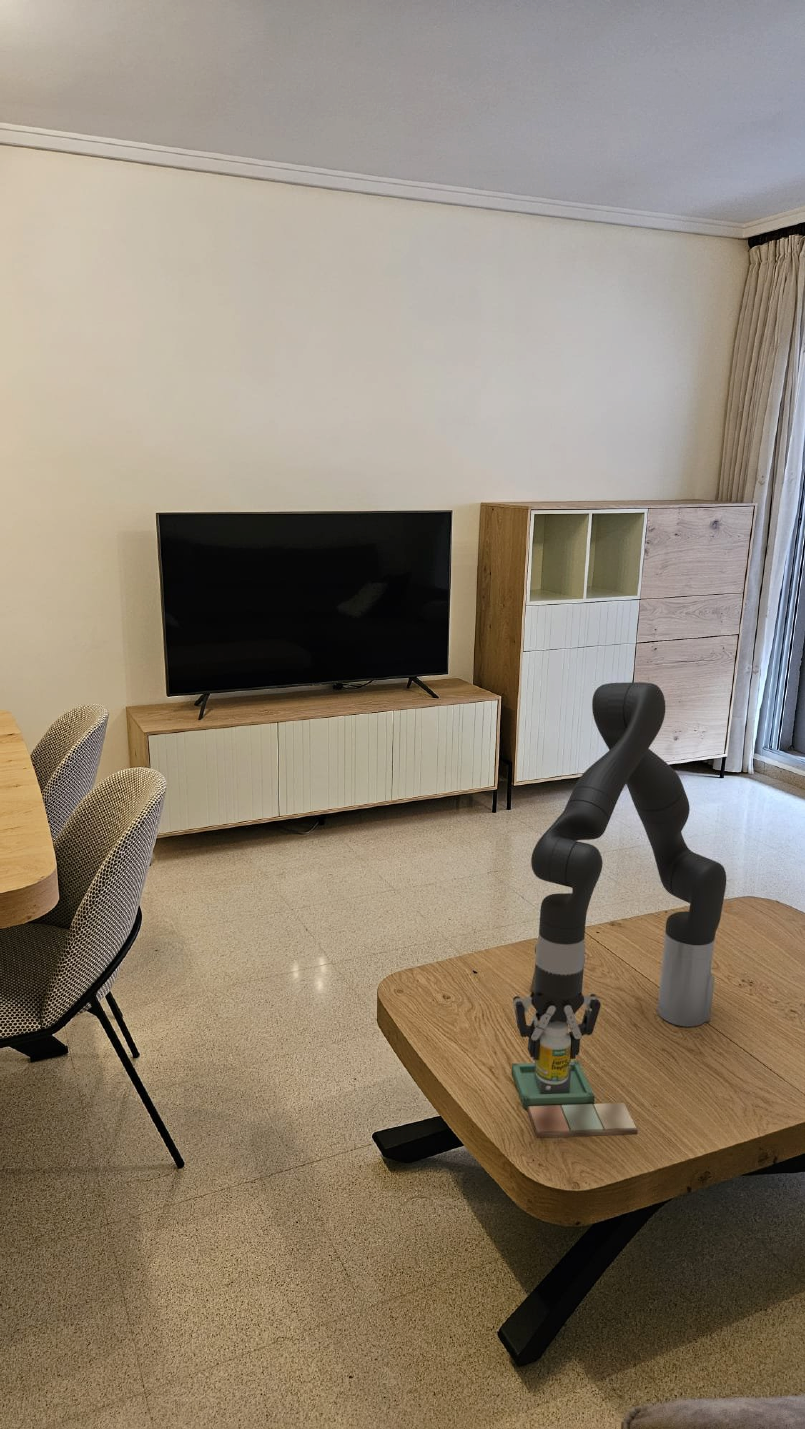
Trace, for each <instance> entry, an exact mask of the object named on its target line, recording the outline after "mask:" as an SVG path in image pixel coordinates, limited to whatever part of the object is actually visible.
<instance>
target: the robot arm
mask: <svg viewBox="0 0 805 1429" xmlns="http://www.w3.org/2000/svg"><path fill="white" fill-rule="evenodd" d="M591 703H592V704H591V709H592V716H593V719H594V723H595V726H596V727H597V730H598V732H599V734H600V736H601V738H602V739H603V740H602V741H604V743H605V745H606V747H607V749H608V751H607V752H606V753H605V754H603V755H602V756H601V757H600V758H599V759H597V760H596V761H594V763H593V764H592V765H590V766H589V767H588V768H587V769H586V770H584V772H583V773H582V775H580V777H579V778H578V780H577V782H576V783H575V785H574V787H573V789H572V792H571V794H570V796H569V798H568V800H567V803H566V804H565V807H564V809H563V811H562V813H561V814H560V815H559V816H558V817H557V818H556V820H555V821H554V822H553V823H552V824H551V826H550V827H549V828H548V829H547V830H546V831H545V832H544V833H543V834H542V836H541V837H540V838H539V839H538V841H537V842H536V844H535V846H534V847H533V850H532V853H531V857H530V858H531V859H530V864H531V870H532V871H533V874H534V875H535V877H536V878H538V879H540V880H542V881H545V882H548V883H552V884H555V885H560V886H563V887H566V888H567V887H568V888H571V889H572V892H571V893H569V892H568V893H567V892H566V893H561V892H560V893H551V894H549V895H546V896H545V897H544V898H543V899H542V901H541V903H540V904H541V905H540V912H539V927H538V928H539V929H538V936H537V942H536V944H537V946H536V945H535V946H536V954H535V962H534V964H535V965H534V970H535V975H534V974H533V975H534V989H533V992H532V993H531V992H530V995H529V996H527V997H522V998H521V997H520V996H519V995H516V996H514V997H513V998H512V1001H513V1009H514V1013H515V1020H516V1027H517V1029H518V1031H519V1035H520V1037H522V1038H526V1037H527V1038H528V1040H527V1050H528V1053H529V1055H530V1057H531V1058H532V1060H533V1061H535V1060H538V1059H539V1045H540V1040H539V1036H540V1034H541V1032H542V1030H544V1029H545V1028H546V1026H547V1024H548V1022H555V1021H560V1022H568V1027H569V1028H570V1031H568V1034H569V1035H570V1037H571V1051H570V1060H575V1059H576V1056H579V1053H580V1048H581V1047H580V1046H581V1038H582V1037H583V1036H585V1035H587V1036H592V1034H593V1033H594V1030H595V1027H596V1023H597V1021H598V1020H597V1019H598V1016H599V1014H600V1009H601V1006H602V1005H601V1004H602V1003H601V1002H600V1000H599V998H598V997H597V994H595V993H592V994H590V995H584V994H583V983H584V982H583V981H584V970H585V969H584V968H585V964H586V944H585V943H586V940H585V934H586V925H587V924H586V921H587V913H588V910H589V909H588V908H589V906H590V905H589V904H590V902H591V900H592V896H593V893H594V891H595V888H596V886H597V882H598V881H599V878H600V876H601V873H602V869H603V863H604V862H603V856H602V855H601V852H600V851H599V849H598V848H597V847H596V846H595V845H593V844H591V843H588V842H584V841H590V840H597V839H599V838H601V837H602V836H603V835H604V834H605V831H606V830H607V827H608V825H609V823H610V820H611V818H612V815H613V813H614V810H615V808H616V804H618V800H619V798H620V796H621V793H622V792H623V789H624V788H625V786H626V787H627V789H628V792H629V795H630V798H631V800H632V803H633V805H634V808H635V810H636V812H637V815H638V818H639V819H640V821H641V823H642V826H643V828H644V831H645V834H646V836H647V838H648V842H649V844H650V846H651V849H652V852H653V855H654V859H655V863H656V867H657V872H658V875H659V878H660V881H661V883H662V886H663V888H664V889H665V891H666V892H667V893H669V894H670V896H674V897H675V898H676V899H679V900H681V901H683V902H685V903H688V904H689V909H688V911H687V910H684V911H677V912H674V913H672V914H670V915H668V917H667V918H666V921H665V931H664V941H663V951H662V952H663V953H662V963H661V970H660V971H661V972H660V979H659V980H660V982H659V992H658V999H657V1000H658V1001H657V1013H658V1015H659V1016H660V1017H661V1018H662V1019H663V1020H665V1021H666V1022H668V1023H670V1024H672V1025H675V1026H680V1027H688V1028H689V1027H698V1026H700V1025H702V1024H703V1023H709V1022H711V1015H712V1014H711V1013H712V1005H713V997H714V987H715V976H714V975H713V974H712V967H713V957H714V948H715V947H714V946H715V941H716V940H715V939H716V934H717V933H716V932H717V930H718V927H719V925H720V921H721V919H722V912H723V911H722V910H723V906H724V901H725V900H724V899H725V896H726V895H725V894H726V889H727V872H726V869H725V867H724V866H723V864H721V863H720V862H718V861H716V860H713V859H711V858H708V857H706V856H703V855H701V854H698V853H695V852H694V851H692V850H691V849H690V848H689V847H688V845H687V844H686V841H685V839H684V836H683V834H682V831H683V829H684V828H685V826H686V824H687V821H688V819H689V817H690V816H689V815H690V809H691V808H690V807H691V806H690V801H689V798H688V795H687V793H686V790H685V788H684V784H683V782H682V779H681V778H680V776H679V775H678V773H677V772H676V771H675V769H674V768H672V767H671V765H670V764H668V762H667V761H665V760H664V759H663V758H661V757H660V756H659V755H658V754H656V753H655V752H654V751H653V750H651V749H650V748H651V745H652V744H653V742H654V741H655V739H656V738H657V735H658V734H659V732H660V730H661V729H662V726H663V723H664V721H665V715H666V706H667V705H666V699H665V695H664V693H663V691H662V689H661V688H660V687H659V686H658V685H657V684H655V683H652V682H645V681H644V682H640V681H639V682H637V681H636V682H634V681H633V682H632V681H630V682H610V683H605V684H602V685H600V686H599V687H597V689H595V691H594V692H593V696H592V702H591ZM582 841H583V842H582ZM531 1005H532V1007H533V1008H534V1009H535V1010H534V1013H533V1014H532V1019H531V1022H530V1023H529V1025H527V1018H526V1014H527V1013H528V1012H529V1009H530V1008H529V1007H531ZM582 1005H583V1006H584V1009H585V1011H584V1014H583V1017H582V1019H581V1023H578V1021H577V1019H576V1016H575V1014H577V1012H578V1011H579V1009H580V1008H581V1007H582Z"/></svg>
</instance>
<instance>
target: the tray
mask: <svg viewBox="0 0 805 1429" xmlns="http://www.w3.org/2000/svg"><path fill="white" fill-rule="evenodd" d="M570 1066H571V1078H570V1091H569V1093H566V1094H540V1093H539V1090H538V1087H537V1084H536V1081H535V1078H534V1073H535V1062H519V1063H517V1062H516V1063H512V1064H511V1075H512V1078H513V1081H514V1084H515V1087H516V1090H517V1093H518V1096H519V1099H520V1102H521V1105H522V1108H523V1109H527V1107H529V1106H552V1105H560V1106H561V1105H578V1104H595V1097H596V1096H595V1094H594V1092H593V1089H592V1088H591V1084H590V1083H589V1080H588V1079H587V1077H586V1074H585V1072H584V1070H583V1068H582V1065H581V1063H580V1061H576V1060H575V1061H570Z"/></svg>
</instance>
